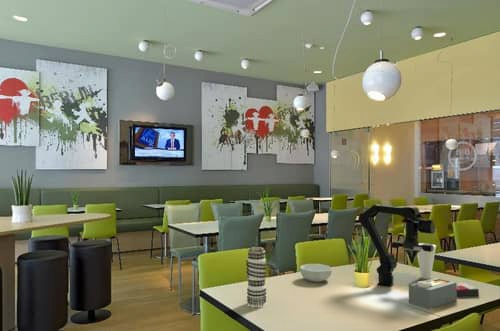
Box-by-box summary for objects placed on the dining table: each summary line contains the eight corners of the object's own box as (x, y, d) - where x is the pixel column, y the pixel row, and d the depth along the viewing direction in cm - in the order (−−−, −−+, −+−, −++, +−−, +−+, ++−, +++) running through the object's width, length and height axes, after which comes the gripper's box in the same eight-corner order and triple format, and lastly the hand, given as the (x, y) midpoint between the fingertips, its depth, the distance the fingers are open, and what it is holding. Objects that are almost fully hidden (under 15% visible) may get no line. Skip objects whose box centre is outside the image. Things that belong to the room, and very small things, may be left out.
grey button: (415, 289, 173) (414, 282, 173) (421, 287, 176) (421, 280, 176) (425, 291, 169) (425, 284, 169) (432, 289, 172) (432, 283, 172)
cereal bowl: (295, 281, 209) (295, 268, 210) (307, 274, 224) (307, 262, 224) (325, 286, 200) (325, 272, 201) (336, 278, 215) (336, 266, 215)
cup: (416, 279, 212) (416, 246, 213) (414, 274, 223) (414, 243, 223) (438, 281, 209) (437, 247, 210) (435, 276, 220) (434, 243, 220)
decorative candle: (242, 303, 174) (241, 247, 174) (258, 299, 179) (258, 245, 180) (254, 309, 167) (254, 250, 167) (271, 304, 172) (270, 248, 173)
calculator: (435, 283, 192) (463, 281, 194) (435, 292, 192) (464, 290, 194) (448, 290, 182) (478, 287, 183) (449, 299, 181) (479, 296, 183)
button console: (408, 302, 174) (408, 284, 175) (435, 294, 186) (435, 277, 186) (429, 309, 166) (429, 289, 166) (456, 300, 178) (456, 281, 178)
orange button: (433, 288, 181) (433, 281, 181) (439, 286, 183) (439, 279, 183) (443, 290, 176) (443, 284, 177) (449, 289, 179) (449, 282, 179)
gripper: (387, 232, 193) (388, 264, 193) (428, 235, 182) (428, 269, 182) (394, 229, 202) (394, 260, 202) (433, 232, 191) (434, 264, 191)
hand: (412, 263), depth 194 cm, fingers closed
